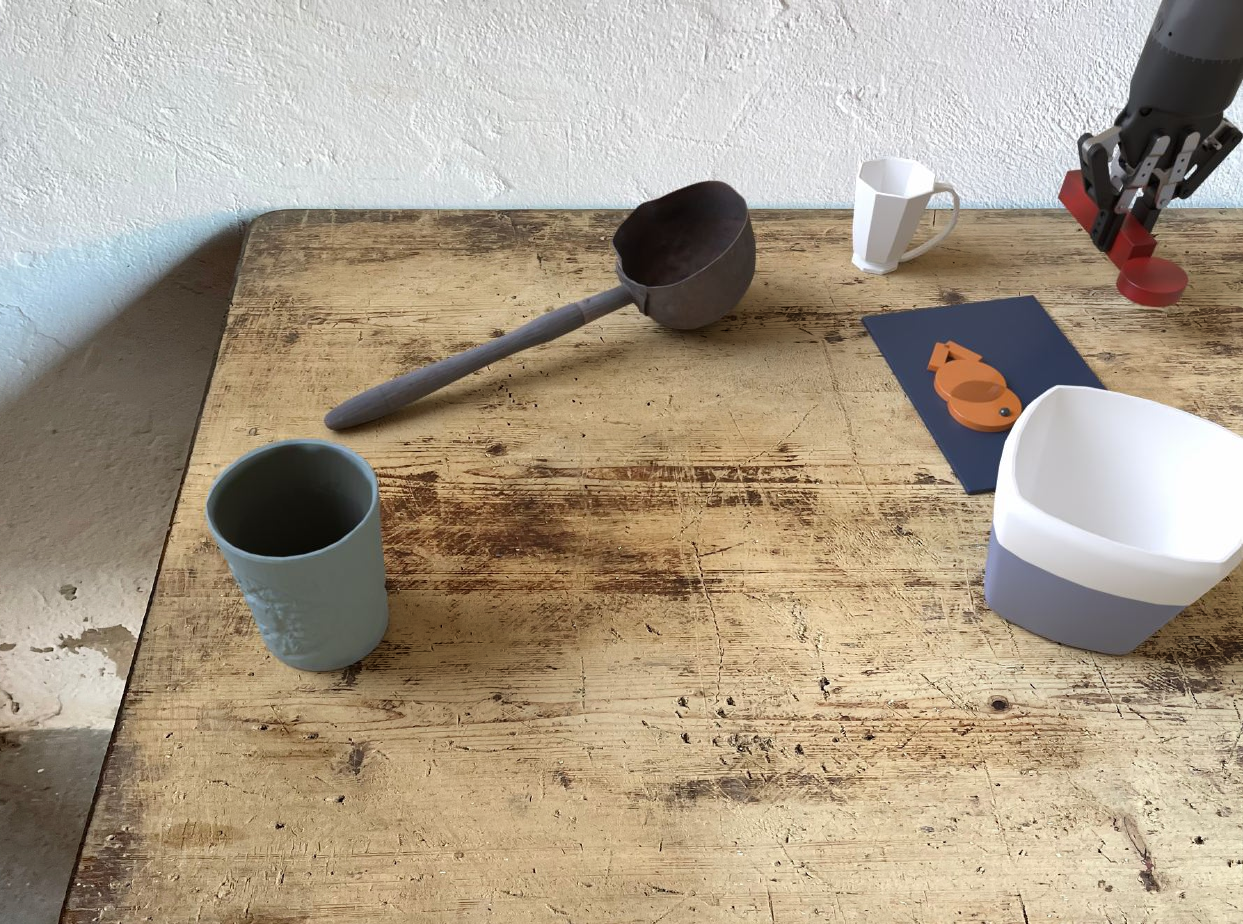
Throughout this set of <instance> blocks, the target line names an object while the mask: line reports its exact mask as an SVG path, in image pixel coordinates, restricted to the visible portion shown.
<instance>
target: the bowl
mask: <svg viewBox="0 0 1243 924" xmlns="http://www.w3.org/2000/svg"><path fill="white" fill-rule="evenodd" d="M1107 390H1108V389H1107ZM1107 390H1102V389H1096V388H1091V387H1083V386H1065V385H1057V386H1054V387H1053V388H1051V389H1049V390H1047V391H1046V392H1045V393H1043V394H1042V395H1041V396H1039V397H1038V398H1037V399H1035V400H1034V401H1033V402H1032V403H1030V404H1029V405H1028V406H1027V408H1026V409H1025V410H1024V412H1023V413H1022V414H1021V415H1020V417H1019V418H1018V419H1017V421H1016V422H1015V424H1014V426H1013V428H1012V430H1011V432H1010V434H1009V436H1008V438H1007V440H1006V442H1005V445H1004V449H1003V453H1002V457H1001V461H1000V466H999V472H998V479H997V486H996V491H995V494H994V500H993V511H992V512H993V513H992V519H991V527H990V532H989V541H988V547H987V554H986V562H985V569H984V587H983V589H984V590H983V594H984V598H985V602H986V605H987V607H988V608H989V609H991V611H993V612H994V613H996V614H997V615H999V617H1001V618H1002V619H1005V620H1007V621H1008V622H1010V623H1012V624H1014V625H1017V626H1019V627H1021V628H1023V629H1025V630H1027V631H1029V632H1030V633H1033V634H1035V635H1037V636H1041V637H1043V638H1045V639H1048V640H1050V641H1052V642H1055V643H1059V644H1063V645H1066V646H1070V647H1073V648H1078V649H1084V650H1087V651H1088V650H1089V651H1093V652H1097V653H1102V654H1106V655H1107V654H1108V655H1128V654H1129V653H1131V652H1133V651H1134V650H1136V648H1138V647H1139V646H1140V645H1142V644H1143V643H1144V642H1146V640H1148V639H1149V638H1150V637H1152V636H1153V635H1154V634H1155V633H1157V632H1158V631H1159V630H1161V628H1163V627H1164V626H1166V624H1167V623H1169V622H1171V621H1172V620H1173V619H1175V618H1176V616H1178V615H1179V614H1180V613H1181V612H1183V611H1184V610H1185V609H1186V608H1188V607H1189V606H1190V605H1193V604H1194V603H1196V601H1197V600H1199V599H1201V597H1203V596H1205V594H1206V593H1208V592H1209V591H1210V590H1212V588H1214V587H1216V585H1218V584H1219V583H1220V582H1222V581H1223V580H1224V579H1225V578H1226V577H1227V576H1229V574H1230V573H1231V572H1232V571H1233V570H1235V568H1236V567H1238V565H1239V564H1241V562H1242V560H1243V436H1240V435H1239V434H1237V433H1235V432H1233V431H1232V430H1229V429H1227V428H1226V427H1224V426H1222V425H1220V424H1218V423H1217V422H1213V421H1211V420H1209V419H1206V418H1203V417H1200V416H1198V415H1196V414H1192V413H1190V412H1187V411H1185V410H1182V409H1179V408H1176V407H1173V406H1169V405H1166V404H1164V403H1160V402H1158V401H1154V400H1151V399H1147V398H1142V397H1139V396H1134V395H1130V394H1127V393H1123V392H1122V393H1121V392H1118V391H1112V390H1108V391H1107Z"/></svg>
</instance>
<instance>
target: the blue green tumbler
mask: <svg viewBox="0 0 1243 924" xmlns="http://www.w3.org/2000/svg"><path fill="white" fill-rule="evenodd" d="M380 499H381V497H380V484H379V481H378V477H377V474H376V472H375V470H374V469H373V467H372V466H371V465H370V463H369V461H367V459H365V458H364V457H363V456H362V455H360V454H359V453H358V452H356V451H355V450H353V449H351V448H348V447H347V446H344V445H342V444H341V443H336V442H333V441H329V440H325V439H319V438H318V439H317V438H292V439H283V440H278V441H274V442H270V443H267V444H264V445H262V446H259V447H257V448H254V449H251V450H249V451H248V452H246V453H244V454H243V455H241V456H239V457H238V458H237V459H236V460H235V461H233V462H232V463H231V464H229V465H228V466H227V467H226V468H225V469H224V470H223V471H222V472H221V473H219V475H218V476H217V477H216V478H215V479H214V481H213V483H212V484H211V487H210V488H209V491H208V493H207V497H206V500H205V517H206V523H207V526H208V528H209V531H210V533H211V535H212V536H213V539H214V540H215V542H216V544H217V547H218V549H219V550H220V552H221V553H222V556H223V558H224V560H226V561H227V562H228V567H229V569H230V572H231V574H232V576H233V579H234V580H235V582H236V583H237V586H238V587H239V589H240V590H241V592H242V593H243V597H244V601H245V603H246V604H247V605H248V608H249V609H250V613H251V614H250V615H251V617H252V618H253V621H254V623H255V625H256V626H257V629H258V631H259V634H260V636H261V638H262V640H263V642H264V644H265V646H266V647H267V649H268V650H269V651H270V652H271V653H272V654H273V655H274V656H275V657H276V658H277V659H278V660H279V661H281V662H283V663H284V664H286V665H288V666H290V667H291V668H294V669H299V670H303V671H307V672H329V671H334V670H335V671H336V670H339V669H343V668H346V667H348V666H351V665H353V664H355V663H357V662H359V661H361V660H363V659H364V658H365V657H366V656H368V655H370V654H371V652H373V651H374V650H375V649H376V648H377V647H378V646H379V645H380V643H381V641H382V639H384V636H385V634H386V631H387V628H388V627H389V618H390V612H389V611H390V610H389V600H388V592H387V589H386V587H385V585H386V583H387V582H386V581H387V580H386V579H387V578H386V574H387V573H386V567H385V553H384V551H383V550H384V549H383V547H384V546H383V535H382V522H381V501H380Z"/></svg>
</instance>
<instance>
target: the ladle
mask: <svg viewBox="0 0 1243 924" xmlns="http://www.w3.org/2000/svg"><path fill="white" fill-rule="evenodd" d="M754 234H755V233H754V229H753V224H752V220H751V216H750V212H749V207H748V205H747V201H746V199H745V197H743V195H741V194H740V193H739V192H738V191H737V190H736V189H735V188H734V187H732V186H731V185H730V184H729V183H727V182H725V181H722V180H702V181H697V182H695V183H691V184H689V185H686V186H684V187H681V188H678V189H675V190H673V191H670V192H668V193H666V194H664V195H662V196H659V197H658V198H654V199H650V200H647V201H643V202H642V203H640V204H638V205H637V207H635V209H634V210H633V211H632V212H631V213H630V214H629V215H628V216H627V217H626V218H625V219H624V220H623V222H622V223H621V224H620V225H619V226H618V227H617V229H616V231H615V232H614V233H613V236H612V239H611V244H612V247H613V250H614V252H615V255H616V257H617V260H618V261H615V262H614V267H615V273H616V274H617V279H618V281H619V283H620V285H618V286H614V287H612V288H610V289H607V290H605V291H602V292H599V293H597V294H595V295H592V296H589V297H587V298H584V299H581V300H579V301H574V302H571V303H568V304H566V305H564V306H561V307H559V308H556V309H554V310H551V311H549V312H546V313H544V314H541V315H539V316H537V317H536V318H533V320H531V321H529V322H527V323H526V324H523V325H522V326H520V327H518V328H516V329H513V330H512V331H510V332H509V333H506V334H504V335H502V336H499V337H498V338H495V339H493V340H490V341H487V342H486V343H482V344H481V345H478V346H476V347H473V348H470V349H468V350H466V351H463V352H459V353H458V354H455V355H452V356H450V357H447V358H445V359H443V360H440V361H437V362H435V363H432V364H430V365H427V366H424V367H421V368H418V369H416V370H413V371H411V372H407V373H406V374H403V375H400V376H398V377H395V378H392V379H390V380H388V381H386V382H383V383H381V384H378V385H376V386H374V387H371V388H369V389H367V390H365V391H363V392H361V393H358V394H357V395H355V396H352V397H351V398H349V399H347V400H345V401H344V402H342V403H340V404H338V405H336V406H335V407H334V408H332V409H331V410H329V412H327V414H326V415H325V416H324V418H323V423H324V425H325V427H326V428H327V429H329V430H331V431H336V430H342V429H347V428H350V427H351V428H352V427H354V426H358V425H360V424H361V425H362V424H364V423H367V422H370V421H374V420H376V419H380V418H382V417H384V416H386V415H389V414H391V413H393V412H396V411H398V410H400V409H402V408H404V407H406V406H409V405H410V404H412V403H414V402H417V401H419V400H421V399H423V398H426V397H427V396H429V395H431V394H434V393H435V392H437V391H439V390H441V389H443V388H445V387H448V386H449V385H451V384H453V383H455V382H457V381H459V380H461V379H464V378H465V377H467V376H469V375H471V374H473V373H475V372H477V371H479V370H481V369H484V368H486V367H488V366H490V365H493V364H494V363H497V362H499V361H501V360H503V359H506V358H508V357H510V356H513V355H515V354H517V353H519V352H522V351H525V350H528V349H531V348H533V347H536V346H540V345H543V344H546V343H549V342H552V341H554V340H557V339H559V338H561V337H563V336H565V335H567V334H569V333H572V332H574V331H576V330H578V329H580V328H582V327H583V326H586V325H588V324H590V323H592V322H594V321H597V320H598V319H600V318H603V317H605V316H607V315H609V314H612V313H614V312H616V311H619V310H620V309H623V308H625V307H628V306H630V305H633V304H634V305H635V307H636V308H637V310H638V312H639V313H640V314H642V315H643V316H645V317H648V318H649V319H651V320H652V321H654V322H656V323H658V324H659V325H661V326H664V327H666V328H668V329H669V328H670V329H675V330H696V329H699V328H703V327H705V326H708V325H710V324H713V323H716V322H718V321H720V319H722V318H724V316H726V315H728V314H729V313H730V312H732V311H733V310H734V309H735V307H736V306H737V305H738V304H739V303H741V300H742V299H743V298H744V296H745V295H746V294H747V292H748V290H749V288H750V287H751V285H752V282H753V280H754V275H755V271H756V265H757V264H756V263H757V243H756V238H755V235H754Z"/></svg>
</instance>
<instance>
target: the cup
mask: <svg viewBox="0 0 1243 924" xmlns="http://www.w3.org/2000/svg"><path fill="white" fill-rule="evenodd" d="M859 164H860V165H859V168H858V172H857V175H856V179H855V180H856V181H855V192H854V207H853V217H852V218H853V219H852V251H853V255H852V258H851V263H852V264H853V265H854V266H855V267H856V268H858V269H859V270H860V271H861V272H864V273H869V274H874V275H880V276H882V275H886V274H888V273H891V272H894V271H897V270H898V266H899V263H904V262H905V263H906V262H907V261H910V260H913V259H915V258H917V257H919V256H921V255H923V254H924V253H926V252H929V250H931V249H933V248H934V247H936V246H938V245H939V244H941V243H942V242H943V241H944V240H946V238H947V237H949V236H950V235H951V233H952V232H953V230H954V229H955V227H956V225H957V224H958V221H959V220H958V219H959V216H960V208H961V206H960V203H961V201H960V197H959V195H958V194H957V192H956V191H955V190H956V189H954V186H953V185H951V184H950V183H946V182H936V180H937V174H936V173H935V172H933V171H932V170H930V169H929V168H927V166H925V165H923V164H922V163H921V162H919V161H918V160H916V159H910V158H903V157H897V156H891V155H883V156H879V157H875V158H873V159H872V158H871V159H870V160H866V161H862V162H860V163H859ZM945 192H947V193H949V194H951V195H952V197H953V207H952V208H953V209H952V212H951V218H950V220H949V221H948V223H947V224H946V226H945V228H943V229H942V230H941V231H940V232H939V233H937V234H936V235H935V236H934V237H932V238H930V239H929V240H927V241H925V242H924V243H922V244H921V245H919V246H918V247H916V248H913V249H911V250H909V251H907V252H906V250H907V248H908V247H909V245H910V243H911V242H912V240H913V238H914V237H915V236H914V235H915V233H916V231H917V228H918V226H919V224H920V221H921V219H922V217H923V216H924V213H925V211H926V209H927V206H928V205H929V202H930V201H931V198H932V196H933V195H937V194H940V193H945Z"/></svg>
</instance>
